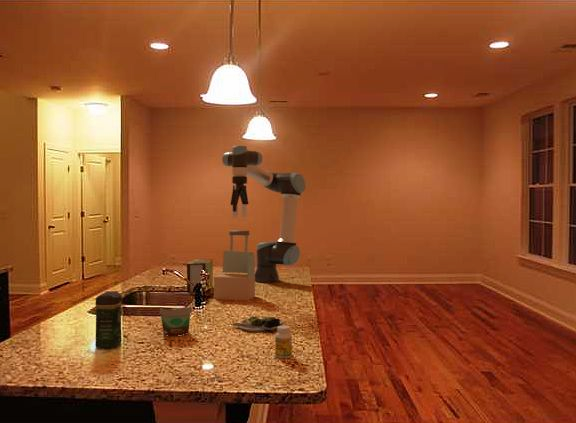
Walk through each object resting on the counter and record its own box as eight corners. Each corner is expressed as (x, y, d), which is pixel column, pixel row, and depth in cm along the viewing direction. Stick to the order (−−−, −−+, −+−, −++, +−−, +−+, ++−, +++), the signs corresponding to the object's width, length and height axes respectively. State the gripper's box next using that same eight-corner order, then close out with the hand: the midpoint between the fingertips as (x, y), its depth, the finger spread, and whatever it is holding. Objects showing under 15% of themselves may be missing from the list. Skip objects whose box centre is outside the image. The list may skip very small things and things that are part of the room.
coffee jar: (117, 349, 169) (116, 294, 168) (92, 350, 168) (92, 295, 167) (124, 341, 178) (123, 289, 178) (101, 341, 178) (101, 289, 177)
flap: (222, 272, 258) (223, 271, 260) (252, 273, 254) (253, 273, 256) (223, 230, 259) (225, 230, 261) (253, 230, 255) (254, 231, 258)
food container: (163, 339, 181) (163, 311, 181) (159, 334, 187) (159, 308, 186) (196, 334, 187) (196, 308, 186) (191, 330, 192) (191, 304, 192)
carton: (221, 294, 260) (221, 254, 259) (254, 296, 256) (254, 255, 255) (213, 298, 250) (213, 256, 249) (248, 300, 245) (248, 257, 245)
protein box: (213, 287, 280) (213, 259, 279) (205, 292, 264) (205, 263, 264) (194, 286, 281) (194, 259, 280) (186, 292, 266) (186, 263, 265)
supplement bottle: (294, 354, 164) (294, 325, 164) (288, 359, 159) (288, 329, 159) (279, 352, 166) (279, 324, 166) (272, 357, 161) (272, 328, 161)
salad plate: (229, 334, 189) (229, 321, 189) (236, 321, 207) (236, 310, 207) (281, 334, 189) (281, 322, 189) (283, 322, 207) (283, 311, 206)
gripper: (240, 176, 270) (240, 216, 271) (224, 175, 246) (224, 218, 247) (254, 176, 269) (254, 216, 270) (238, 175, 244) (238, 218, 245)
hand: (239, 217), depth 258 cm, fingers open, 13 cm apart
